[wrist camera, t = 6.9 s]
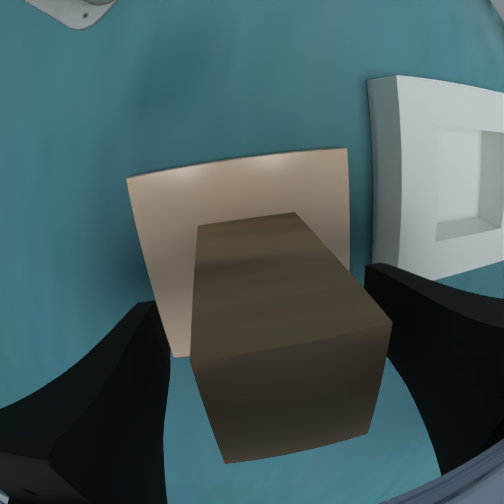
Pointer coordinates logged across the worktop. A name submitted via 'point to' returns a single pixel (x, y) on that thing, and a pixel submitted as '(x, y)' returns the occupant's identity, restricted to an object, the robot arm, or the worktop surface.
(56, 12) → the emergency button
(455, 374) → the robot arm
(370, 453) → the worktop surface
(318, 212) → the pad
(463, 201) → the pocket block
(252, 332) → the peg
